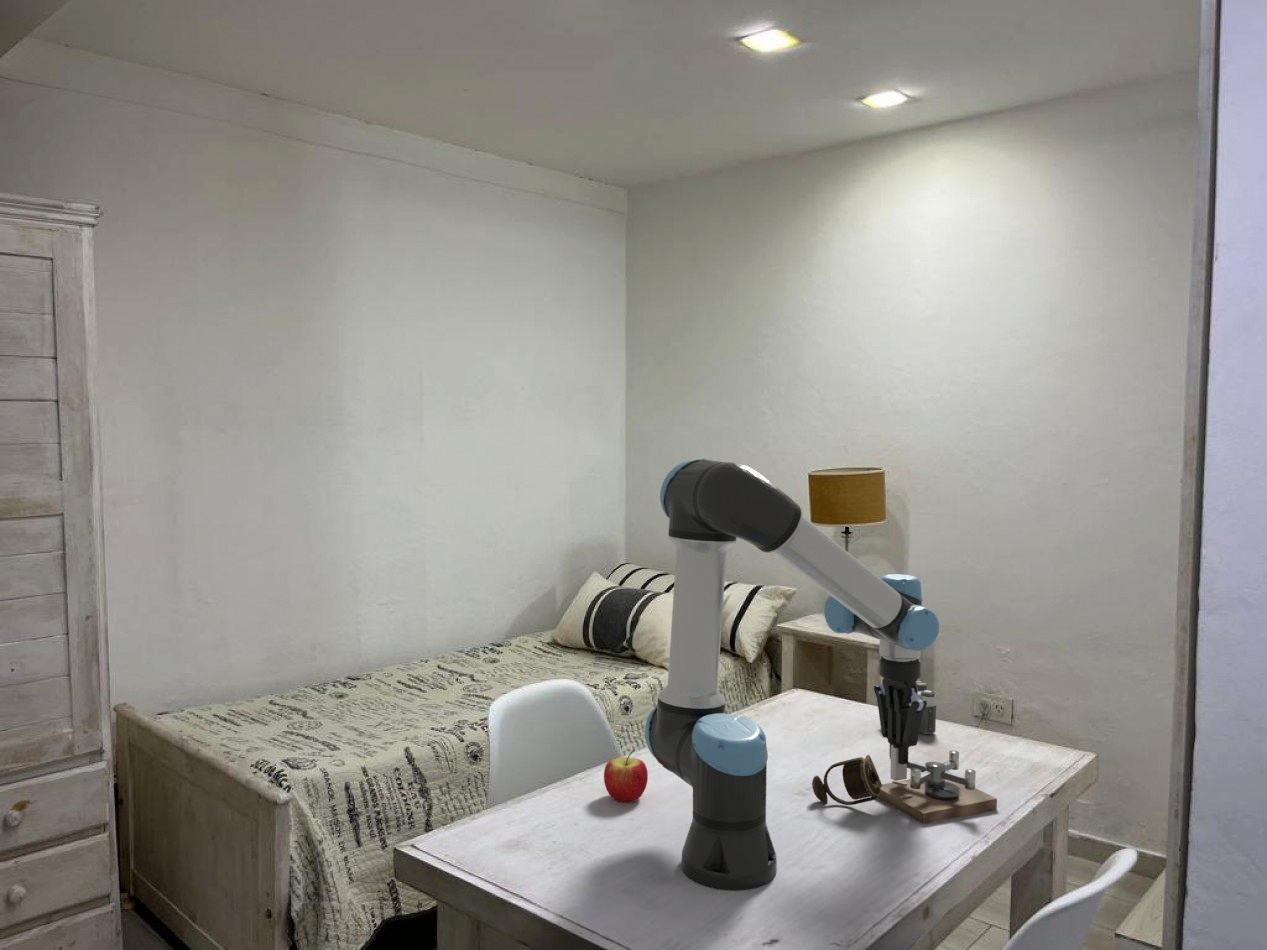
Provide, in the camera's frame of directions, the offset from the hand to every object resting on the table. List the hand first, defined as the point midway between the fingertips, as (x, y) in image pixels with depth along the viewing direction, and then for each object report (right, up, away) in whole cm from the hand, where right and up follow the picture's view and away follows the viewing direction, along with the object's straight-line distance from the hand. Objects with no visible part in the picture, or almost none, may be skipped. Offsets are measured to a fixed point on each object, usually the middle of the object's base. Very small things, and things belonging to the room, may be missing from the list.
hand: (898, 778), depth 185 cm
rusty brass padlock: (-11, -4, -6) cm, 13 cm away
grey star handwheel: (+6, -2, -3) cm, 7 cm away
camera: (+13, -1, +43) cm, 45 cm away
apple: (-52, -4, -2) cm, 52 cm away
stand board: (+6, -4, -3) cm, 8 cm away
